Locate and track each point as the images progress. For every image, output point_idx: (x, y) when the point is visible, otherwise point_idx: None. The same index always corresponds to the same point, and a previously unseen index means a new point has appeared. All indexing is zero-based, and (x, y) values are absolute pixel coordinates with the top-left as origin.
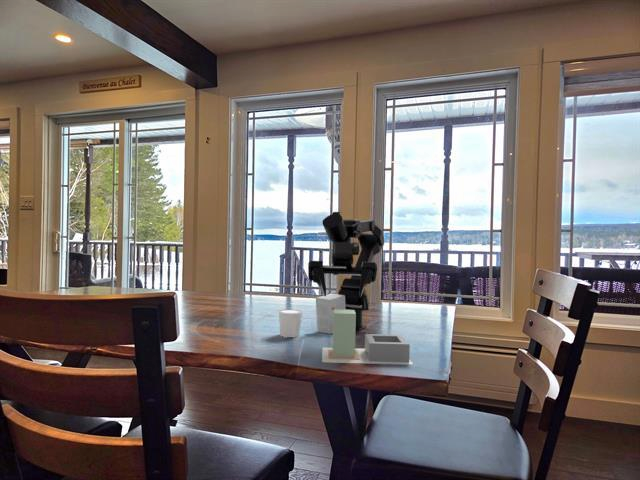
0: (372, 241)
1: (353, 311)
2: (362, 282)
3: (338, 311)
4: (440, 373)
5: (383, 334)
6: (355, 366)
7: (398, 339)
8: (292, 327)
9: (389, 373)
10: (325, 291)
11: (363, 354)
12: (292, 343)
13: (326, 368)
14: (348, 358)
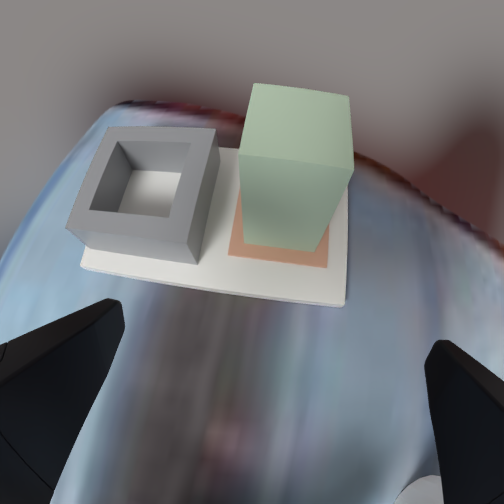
0: None
1: (252, 119)
2: (11, 356)
3: (329, 121)
4: (93, 132)
5: (119, 233)
6: None
7: (101, 182)
8: (437, 485)
9: (192, 126)
10: (450, 349)
11: (216, 218)
12: (427, 405)
13: None
14: None
